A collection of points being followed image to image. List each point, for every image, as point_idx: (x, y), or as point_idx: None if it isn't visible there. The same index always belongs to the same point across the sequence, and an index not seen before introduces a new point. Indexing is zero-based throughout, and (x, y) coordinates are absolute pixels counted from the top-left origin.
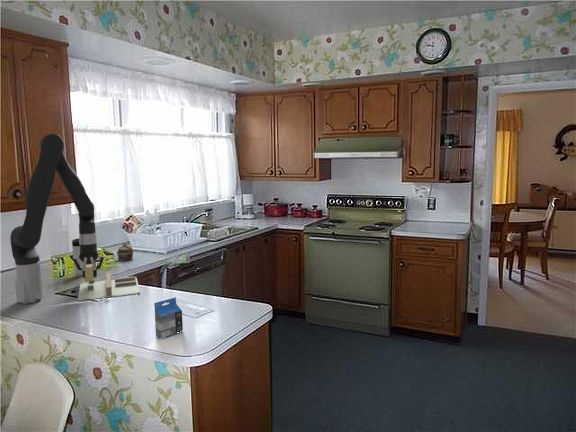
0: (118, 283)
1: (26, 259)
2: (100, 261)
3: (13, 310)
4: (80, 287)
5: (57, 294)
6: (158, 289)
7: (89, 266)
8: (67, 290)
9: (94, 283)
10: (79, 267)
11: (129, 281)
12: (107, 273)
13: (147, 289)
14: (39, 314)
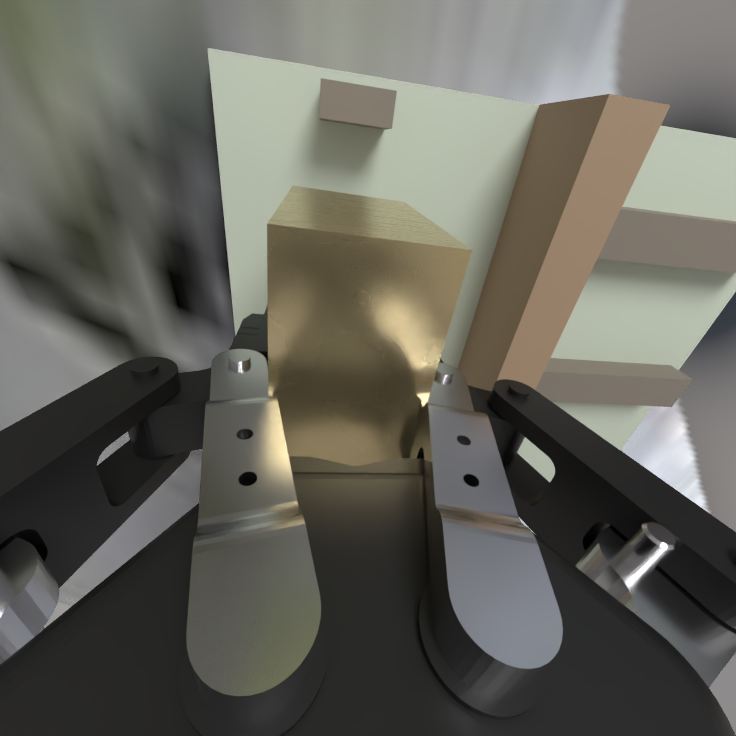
0: (549, 399)
1: None
2: (569, 558)
3: None
4: (234, 258)
5: (40, 307)
6: (679, 475)
7: (347, 433)
8: (97, 211)
9: (382, 164)
10: (158, 478)
11: (640, 384)
12: (602, 151)
13: (642, 456)
14: (100, 578)
